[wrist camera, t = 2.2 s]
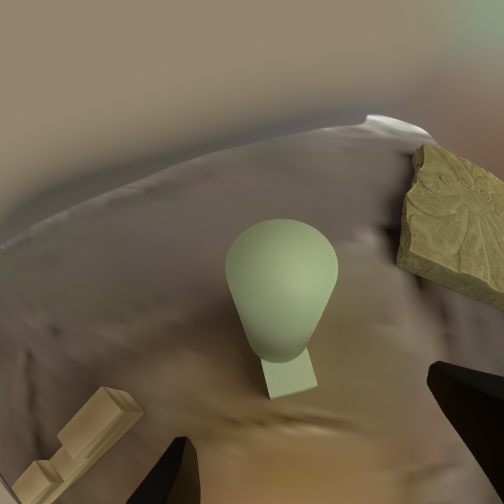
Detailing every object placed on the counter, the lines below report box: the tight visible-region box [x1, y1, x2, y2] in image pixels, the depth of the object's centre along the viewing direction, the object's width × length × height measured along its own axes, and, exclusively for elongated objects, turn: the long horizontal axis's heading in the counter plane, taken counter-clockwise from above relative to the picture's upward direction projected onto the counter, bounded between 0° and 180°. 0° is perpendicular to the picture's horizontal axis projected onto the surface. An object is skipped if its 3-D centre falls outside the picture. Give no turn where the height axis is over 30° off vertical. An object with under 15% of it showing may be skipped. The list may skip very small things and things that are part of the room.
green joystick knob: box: [225, 219, 338, 400], centre depth 15 cm, size 8×4×13 cm, turn 12°
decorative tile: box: [397, 144, 504, 311], centre depth 24 cm, size 19×20×4 cm
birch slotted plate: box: [12, 386, 146, 504], centre depth 14 cm, size 2×18×4 cm, turn 140°
